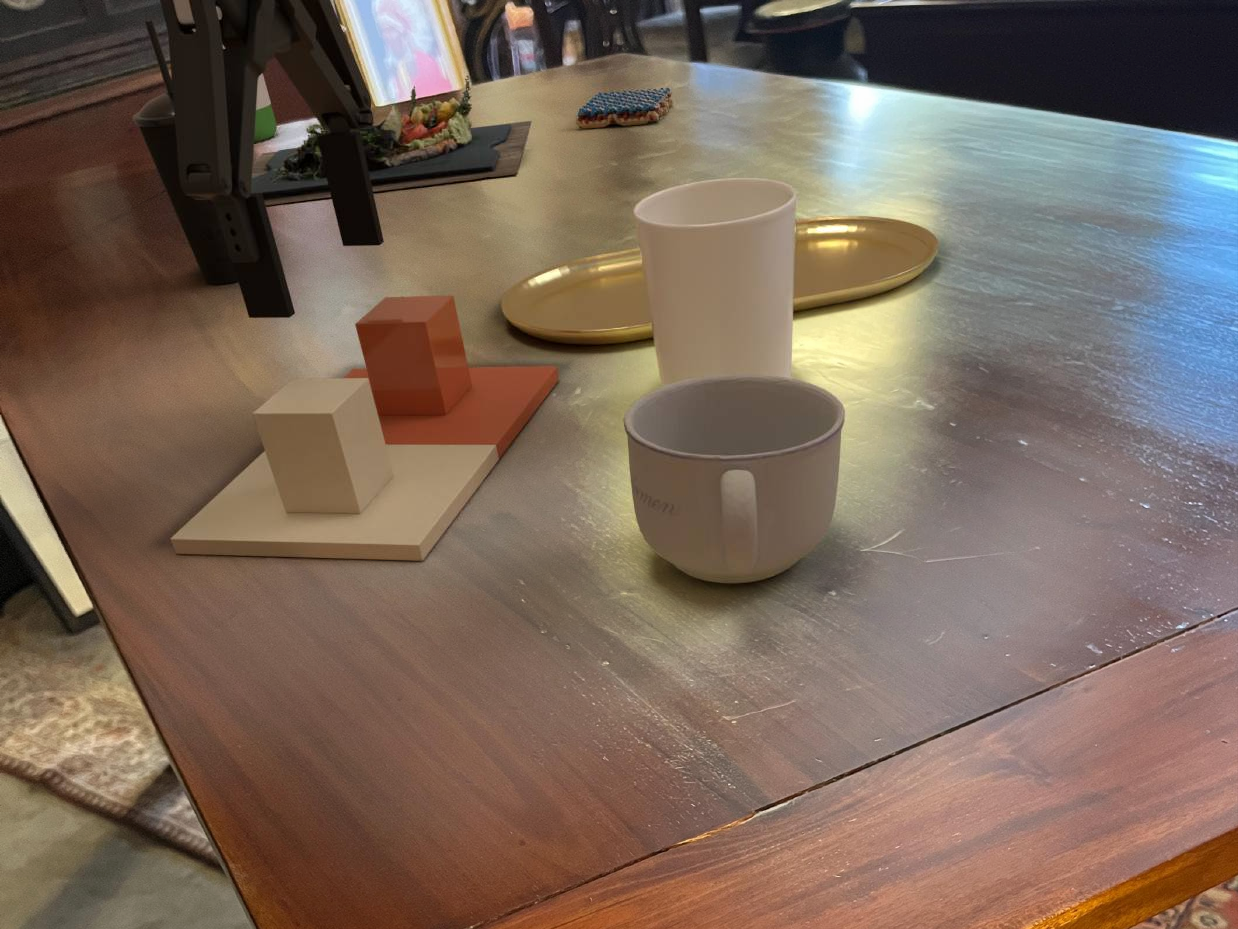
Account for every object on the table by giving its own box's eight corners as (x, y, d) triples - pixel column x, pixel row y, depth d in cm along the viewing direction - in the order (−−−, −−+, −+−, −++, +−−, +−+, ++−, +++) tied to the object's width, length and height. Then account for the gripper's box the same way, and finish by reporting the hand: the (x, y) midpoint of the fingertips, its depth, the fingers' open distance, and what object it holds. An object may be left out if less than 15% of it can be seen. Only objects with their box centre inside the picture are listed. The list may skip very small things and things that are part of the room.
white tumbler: (794, 430, 75) (789, 219, 67) (641, 434, 77) (618, 230, 69) (807, 369, 82) (804, 172, 74) (667, 375, 84) (648, 183, 76)
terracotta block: (378, 415, 82) (354, 323, 78) (406, 386, 85) (385, 297, 81) (446, 415, 80) (425, 322, 76) (472, 385, 84) (453, 295, 80)
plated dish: (531, 119, 152) (520, 50, 147) (522, 179, 131) (508, 101, 126) (260, 157, 154) (240, 90, 149) (209, 222, 133) (183, 147, 128)
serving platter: (491, 294, 102) (488, 274, 101) (887, 223, 105) (888, 203, 104) (521, 370, 88) (517, 348, 87) (976, 285, 91) (977, 263, 90)
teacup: (663, 508, 69) (648, 367, 64) (853, 508, 67) (854, 361, 62) (607, 640, 60) (583, 486, 54) (827, 644, 57) (825, 484, 52)
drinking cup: (173, 286, 114) (82, 30, 100) (235, 260, 118) (156, 12, 104) (225, 293, 110) (139, 30, 96) (287, 267, 114) (213, 11, 101)
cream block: (285, 512, 72) (251, 413, 68) (321, 475, 75) (291, 378, 71) (360, 514, 71) (331, 413, 67) (394, 476, 74) (368, 377, 70)
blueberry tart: (677, 104, 149) (675, 85, 148) (658, 125, 142) (656, 105, 141) (596, 110, 152) (594, 91, 151) (573, 131, 144) (571, 111, 143)
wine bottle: (220, 150, 158) (129, -148, 138) (222, 138, 164) (134, -150, 143) (279, 140, 159) (197, -158, 139) (279, 128, 165) (200, -159, 144)
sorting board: (175, 554, 72) (169, 538, 71) (356, 382, 90) (352, 368, 89) (423, 561, 68) (418, 544, 67) (559, 379, 86) (557, 365, 85)
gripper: (144, -141, 53) (285, 351, 68) (370, -181, 71) (444, 217, 85) (1, -126, 55) (168, 351, 69) (256, -169, 72) (347, 220, 87)
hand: (320, 278), depth 77 cm, fingers open, 13 cm apart
